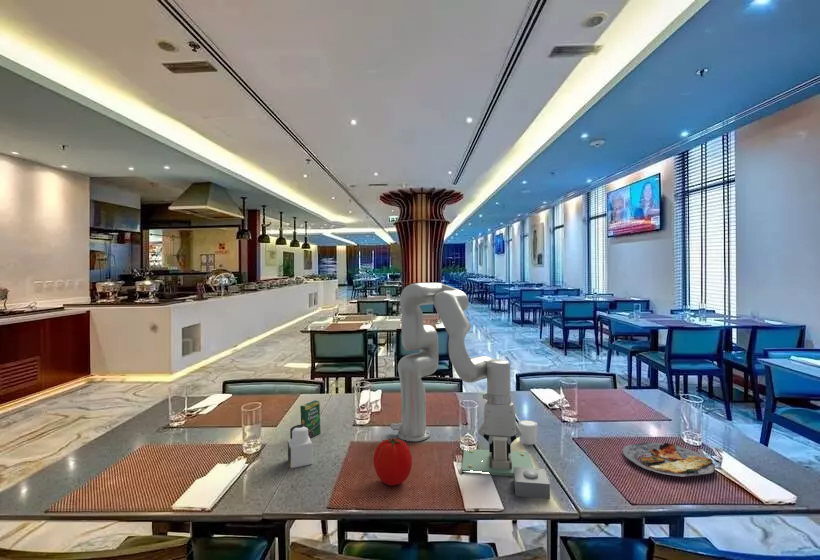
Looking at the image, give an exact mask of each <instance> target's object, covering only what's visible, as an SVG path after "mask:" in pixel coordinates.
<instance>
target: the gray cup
mask: <svg viewBox="0 0 820 560" xmlns="http://www.w3.org/2000/svg"><path fill="white" fill-rule="evenodd" d="M517 422H518V428H519V430H520V431H521V433H522V435H521V436H520V437H519V441H520V443H522V444H523V445H527V446H529V445H530V446H533V445H536V444H537V436H538V435H537V433H538V422H537V421H535V420H530V419H522V420H519V421H517Z"/></svg>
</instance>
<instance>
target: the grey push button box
mask: <svg viewBox="0 0 820 560" xmlns="http://www.w3.org/2000/svg"><path fill="white" fill-rule="evenodd" d="M513 473H514V476H513V484H514V492H515V497H524V498H534V499H535V498H537V499H551V483H550V481H549V478H548V474H547V472H546V469H545V468H537V467H533V468H523V467H513Z"/></svg>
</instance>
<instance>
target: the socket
mask: <svg viewBox="0 0 820 560" xmlns="http://www.w3.org/2000/svg"><path fill="white" fill-rule="evenodd" d="M492 457H494V456H492V452H489V460H490V468H503V469H512V460H511V454H509V457H507V458H508V461H495V460H492Z"/></svg>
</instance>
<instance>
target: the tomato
mask: <svg viewBox="0 0 820 560" xmlns="http://www.w3.org/2000/svg"><path fill="white" fill-rule="evenodd" d="M372 459H373V460H372V461H373V466H374V470H375V472H376V476H378V479H379V480H380V481H381V482H382V483H383V484H386V485H388V486H390V487H391V486H397V485H398V486H399V485H401V484H403V482H405V481H406V480H407V479H408V477H409V476H410V473H411V471H412V466H413V457H412V454H411V450H410V448H409V446H408V444H407V443H406V441H405V440H402V439H400V438H399V437H397V438H395V437H394V438H390V437H387V439H384V440H382V441H381V442H380V443H379V444H378V445H377V447H376V449H375V451H374V454H373V458H372Z"/></svg>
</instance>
